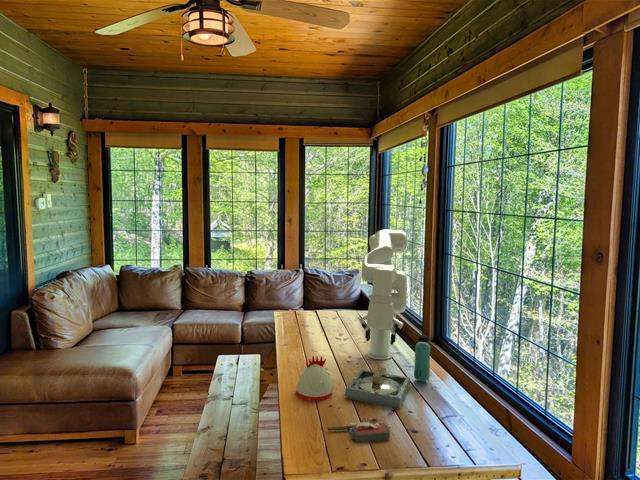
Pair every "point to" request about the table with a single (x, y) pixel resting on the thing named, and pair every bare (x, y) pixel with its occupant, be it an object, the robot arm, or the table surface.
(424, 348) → the beverage bottle
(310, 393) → the kitchen timer
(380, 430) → the walkie-talkie
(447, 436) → the table surface
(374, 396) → the dial housing
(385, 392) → the dial
